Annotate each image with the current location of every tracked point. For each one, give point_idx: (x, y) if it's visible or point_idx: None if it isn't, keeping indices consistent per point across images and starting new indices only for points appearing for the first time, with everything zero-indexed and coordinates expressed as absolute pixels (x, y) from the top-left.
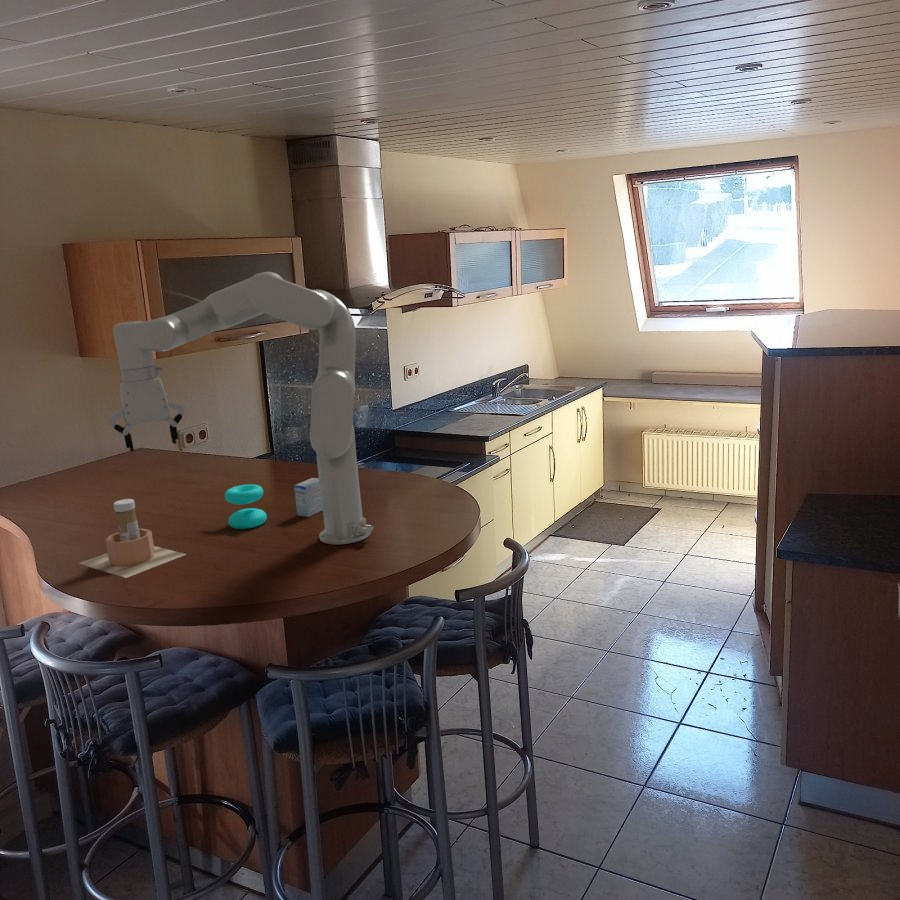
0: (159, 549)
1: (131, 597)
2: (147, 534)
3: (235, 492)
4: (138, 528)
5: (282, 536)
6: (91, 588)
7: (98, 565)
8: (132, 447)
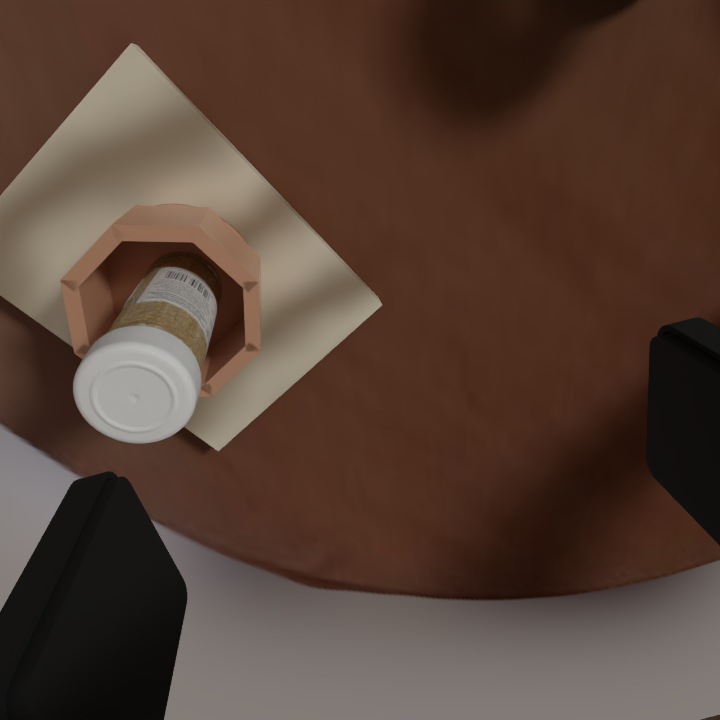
0: (267, 208)
1: (260, 521)
2: (254, 331)
3: None
4: (211, 322)
5: (701, 165)
6: (110, 441)
7: (60, 312)
8: (172, 632)
